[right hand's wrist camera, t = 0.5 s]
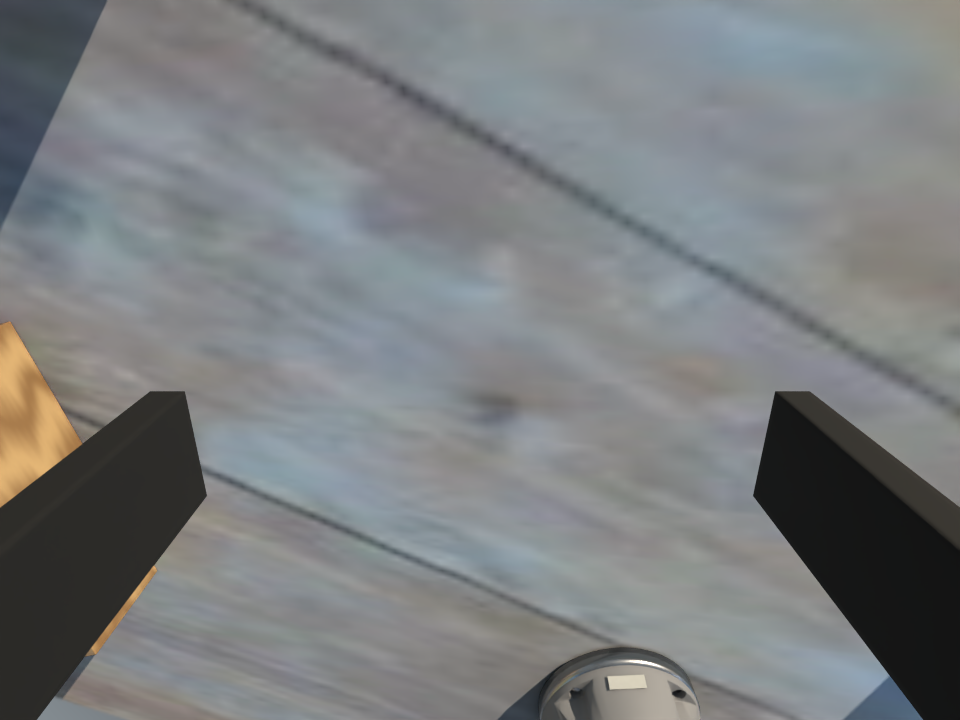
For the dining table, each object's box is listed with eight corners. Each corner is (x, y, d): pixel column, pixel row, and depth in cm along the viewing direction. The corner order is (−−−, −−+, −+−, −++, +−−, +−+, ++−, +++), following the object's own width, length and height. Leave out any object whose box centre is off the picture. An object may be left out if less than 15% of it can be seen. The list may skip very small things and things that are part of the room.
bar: (157, 570, 50) (96, 654, 42) (109, 580, 50) (40, 665, 42) (10, 321, 41) (-103, 367, 33) (-46, 335, 41) (-172, 384, 33)
